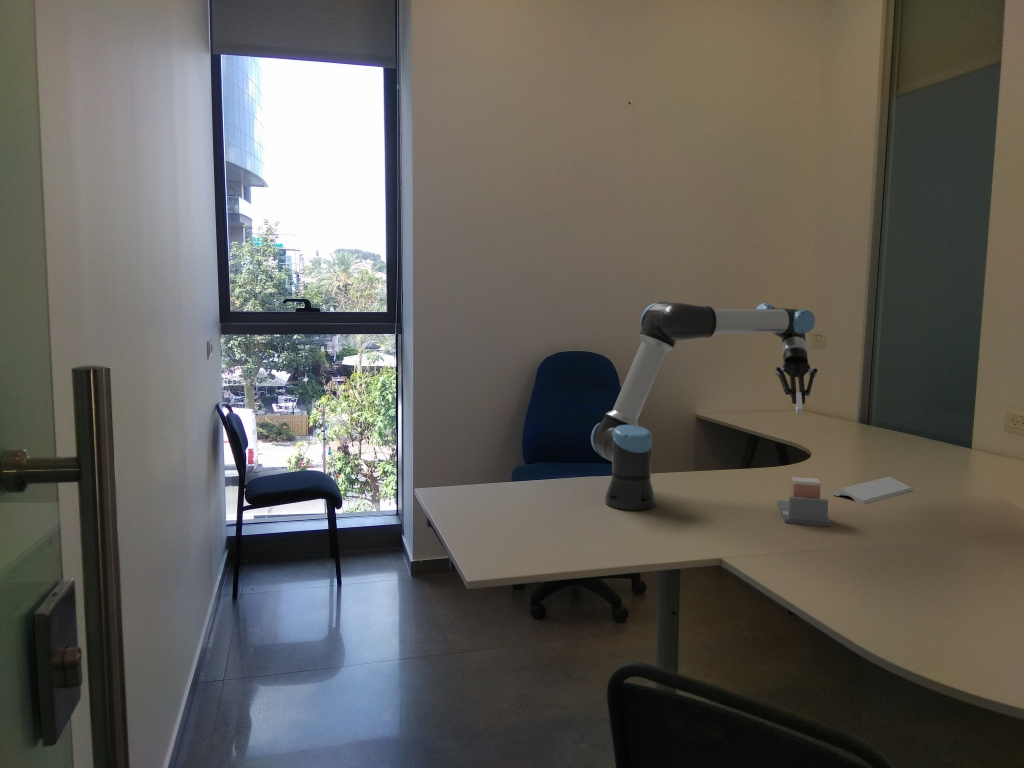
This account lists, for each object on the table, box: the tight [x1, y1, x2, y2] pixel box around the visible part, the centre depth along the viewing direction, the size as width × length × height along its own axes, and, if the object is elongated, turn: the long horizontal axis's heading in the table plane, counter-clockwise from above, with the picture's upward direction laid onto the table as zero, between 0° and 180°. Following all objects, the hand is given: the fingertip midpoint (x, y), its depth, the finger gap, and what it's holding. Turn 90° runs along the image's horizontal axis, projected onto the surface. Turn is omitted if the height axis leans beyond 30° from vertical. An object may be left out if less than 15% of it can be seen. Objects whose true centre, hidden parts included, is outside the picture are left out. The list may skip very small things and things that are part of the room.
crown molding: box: [828, 476, 914, 505], centre depth 237 cm, size 29×12×4 cm, turn 124°
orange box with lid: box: [790, 476, 822, 499], centre depth 208 cm, size 7×5×10 cm
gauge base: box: [776, 495, 832, 528], centre depth 211 cm, size 12×19×7 cm, turn 166°
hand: (799, 411), depth 225 cm, fingers closed
